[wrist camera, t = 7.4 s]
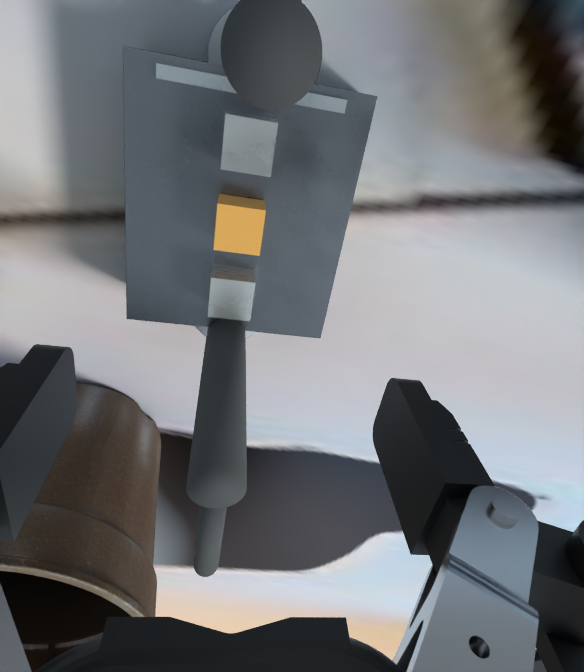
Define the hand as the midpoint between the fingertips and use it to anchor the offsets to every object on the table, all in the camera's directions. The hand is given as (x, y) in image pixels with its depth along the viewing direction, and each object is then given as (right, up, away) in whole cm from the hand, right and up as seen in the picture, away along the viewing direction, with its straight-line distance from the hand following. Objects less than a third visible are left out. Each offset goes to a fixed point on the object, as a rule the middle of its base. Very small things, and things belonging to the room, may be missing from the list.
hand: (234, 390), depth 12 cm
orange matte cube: (-1, +8, +13) cm, 15 cm away
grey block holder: (-2, +10, +16) cm, 19 cm away
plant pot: (-15, -7, +25) cm, 30 cm away
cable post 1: (-3, +2, +21) cm, 22 cm away
